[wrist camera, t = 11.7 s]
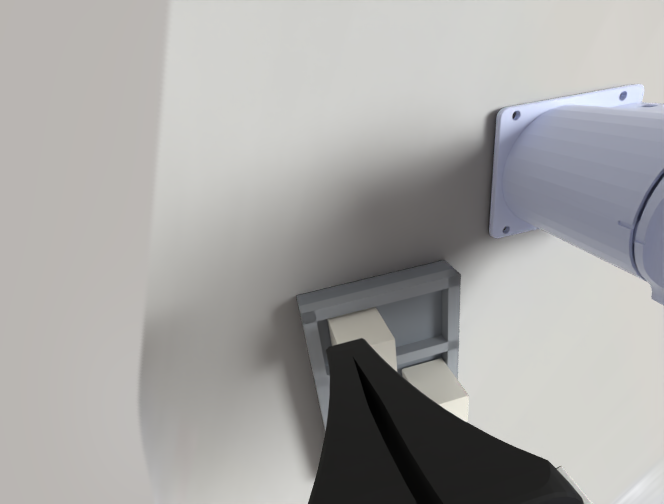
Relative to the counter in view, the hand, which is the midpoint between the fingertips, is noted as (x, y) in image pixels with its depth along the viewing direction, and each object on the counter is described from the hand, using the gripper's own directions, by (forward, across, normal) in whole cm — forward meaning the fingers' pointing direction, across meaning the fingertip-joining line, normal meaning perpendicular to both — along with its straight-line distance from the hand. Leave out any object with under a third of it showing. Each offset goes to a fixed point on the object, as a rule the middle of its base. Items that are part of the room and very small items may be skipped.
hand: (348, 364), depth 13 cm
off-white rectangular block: (+8, -2, +6) cm, 10 cm away
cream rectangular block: (+8, -7, +12) cm, 16 cm away
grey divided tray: (+10, -4, +12) cm, 16 cm away
